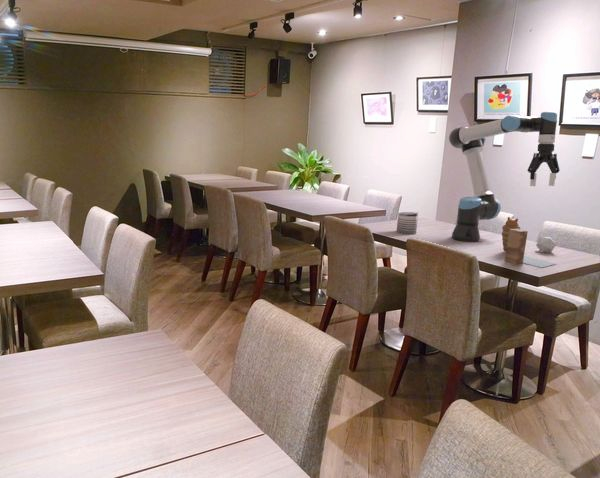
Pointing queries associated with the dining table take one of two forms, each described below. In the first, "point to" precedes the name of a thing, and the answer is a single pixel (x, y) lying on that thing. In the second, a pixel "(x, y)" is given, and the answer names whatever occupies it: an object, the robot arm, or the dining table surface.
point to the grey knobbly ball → (546, 244)
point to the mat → (537, 262)
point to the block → (516, 246)
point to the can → (407, 223)
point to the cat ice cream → (509, 225)
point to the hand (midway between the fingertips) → (542, 186)
